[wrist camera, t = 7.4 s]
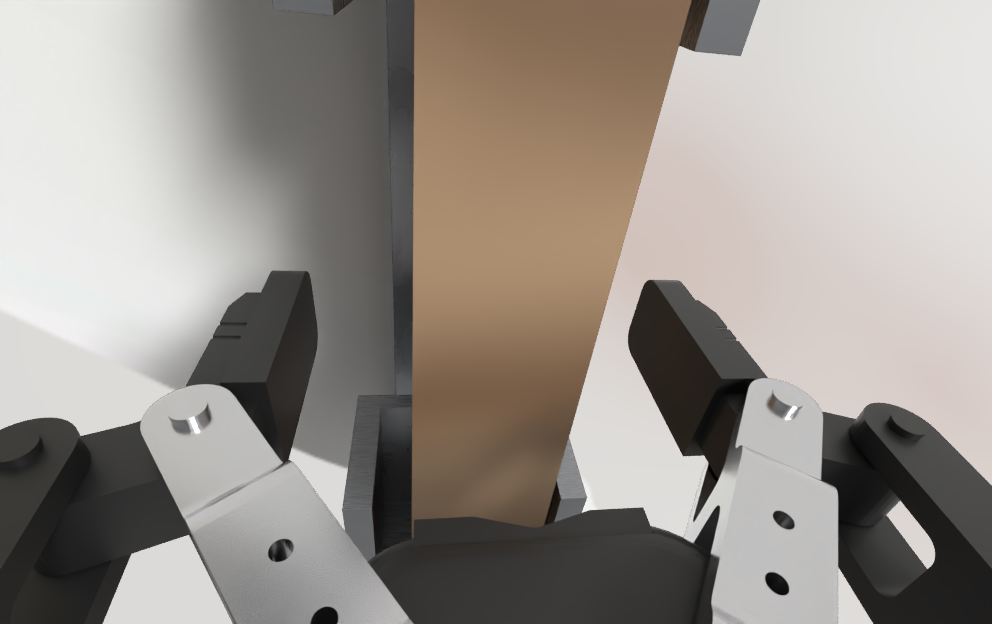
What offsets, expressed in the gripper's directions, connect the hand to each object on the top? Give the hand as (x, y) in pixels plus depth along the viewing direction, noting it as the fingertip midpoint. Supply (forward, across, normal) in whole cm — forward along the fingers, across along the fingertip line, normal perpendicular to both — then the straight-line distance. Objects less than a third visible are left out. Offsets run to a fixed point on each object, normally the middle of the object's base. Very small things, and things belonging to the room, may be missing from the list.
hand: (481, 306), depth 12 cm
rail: (+2, 0, 0) cm, 2 cm away
